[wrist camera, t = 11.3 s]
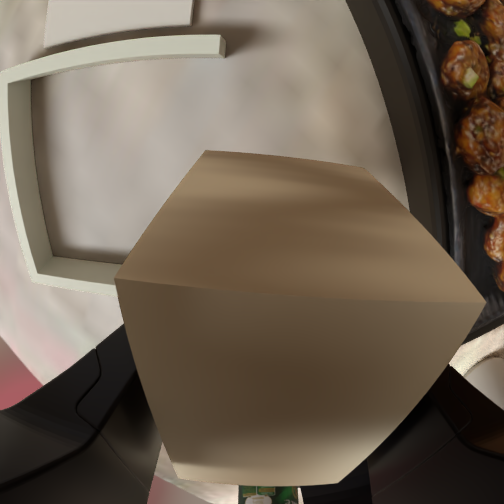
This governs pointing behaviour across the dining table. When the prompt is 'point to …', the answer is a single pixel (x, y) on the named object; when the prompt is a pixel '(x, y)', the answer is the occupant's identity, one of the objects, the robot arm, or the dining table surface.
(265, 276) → the block
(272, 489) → the coffee jar
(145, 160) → the dining table surface
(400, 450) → the robot arm
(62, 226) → the dining table surface
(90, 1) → the rubber mat
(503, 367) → the can
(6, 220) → the dining table surface
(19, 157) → the open square frame
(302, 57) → the dining table surface
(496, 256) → the food platter
